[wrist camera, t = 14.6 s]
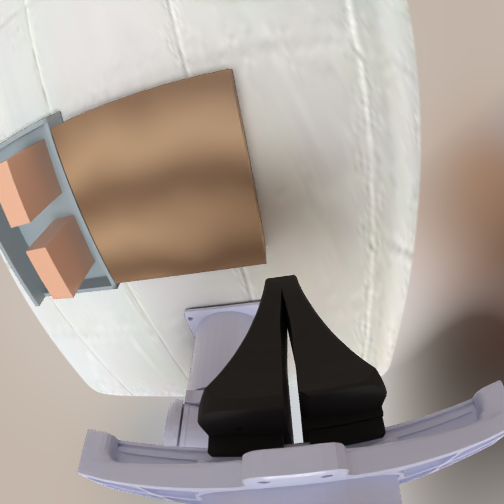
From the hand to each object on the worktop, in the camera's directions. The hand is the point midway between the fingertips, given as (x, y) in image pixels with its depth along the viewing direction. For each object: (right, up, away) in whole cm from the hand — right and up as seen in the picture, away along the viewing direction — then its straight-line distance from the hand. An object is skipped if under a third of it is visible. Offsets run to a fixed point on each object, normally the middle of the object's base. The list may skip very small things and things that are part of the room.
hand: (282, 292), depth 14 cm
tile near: (-18, +7, +4) cm, 20 cm away
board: (-8, +7, +8) cm, 13 cm away
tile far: (-16, +2, +8) cm, 18 cm away
